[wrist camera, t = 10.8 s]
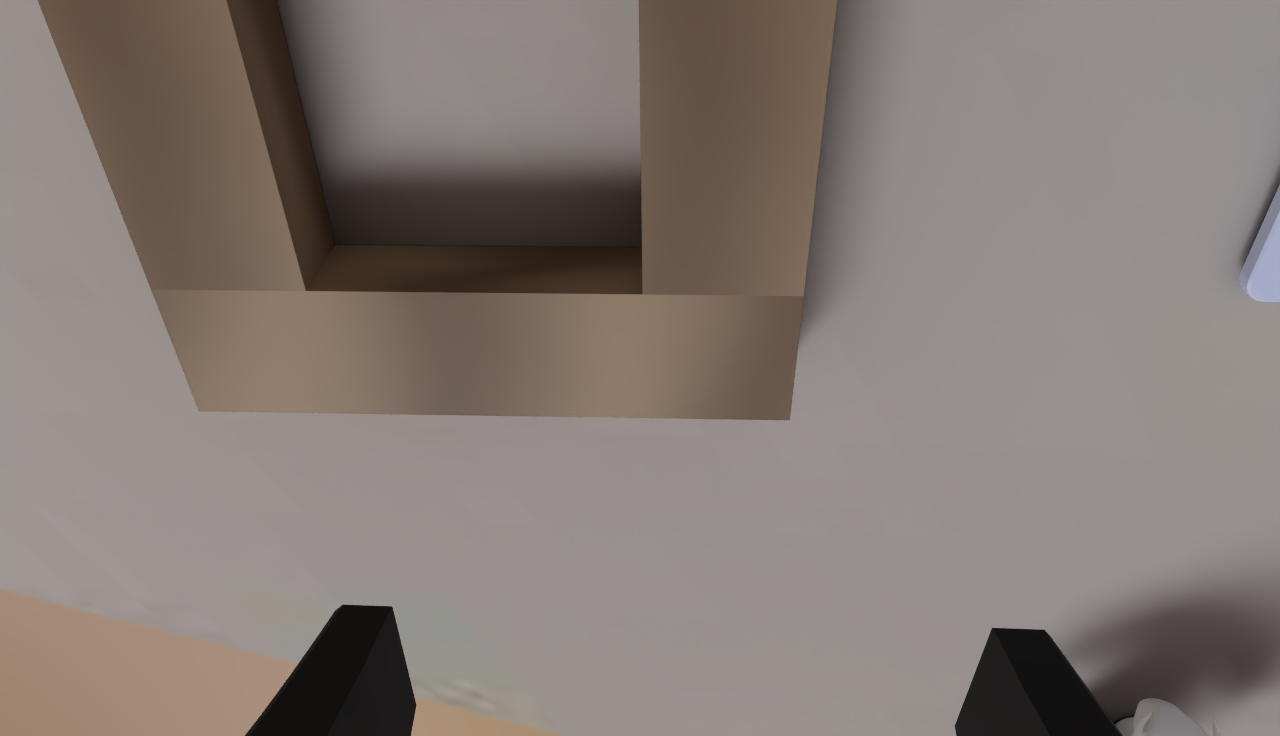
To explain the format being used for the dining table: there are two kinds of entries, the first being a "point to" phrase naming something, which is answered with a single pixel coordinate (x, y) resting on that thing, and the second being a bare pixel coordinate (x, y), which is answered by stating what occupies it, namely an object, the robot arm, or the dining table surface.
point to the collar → (463, 275)
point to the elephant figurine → (1160, 721)
